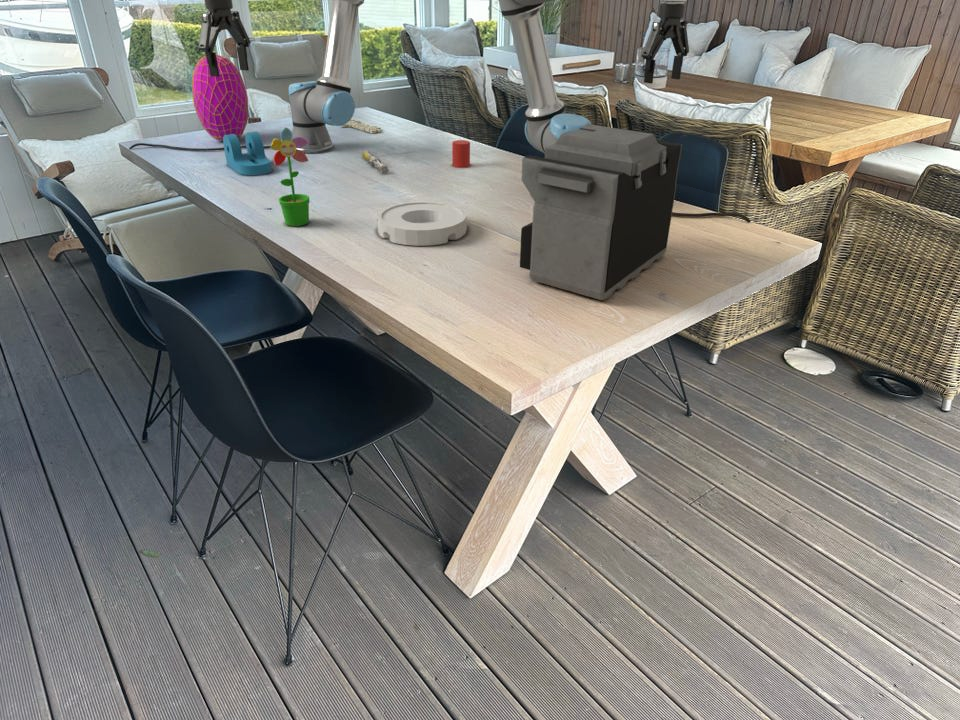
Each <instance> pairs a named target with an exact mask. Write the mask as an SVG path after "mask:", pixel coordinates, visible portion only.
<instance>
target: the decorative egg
mask: <svg viewBox="0 0 960 720" xmlns="http://www.w3.org/2000/svg"><path fill="white" fill-rule="evenodd" d="M216 58H217V64H218V70H219V77H215V76H210V71H209V65H208V64H207V59H206V55H205V56H203V57H201V58H199V60H197V62H196V65H195V67H194V69H193V72H192V78H191V91H192V93H191V94H192V102H193V106H194V110H195V112H196V115H197V118H198V119H199V122H200V125H202V128H203V129H204V130H205V132H206V133H207V134H208V135H209V137H212V139H214V140H216V141H220V142H223V137H224V135H230V134H235V135H236V136H237V138H238V139H240V138H241V137H242V135H243V134H244V132H245V129H246V127H247V124H248V120H249V98H248V97H249V96H248V91H247V88H246V84H245V82H244V79H243V76H242V74H241V72H240V71H239V69H238V68H237V67H236V65H235V64H234V62H233V61H231V60H230V59H229V58H228V57H225V56H223V55H220V54H216Z"/></svg>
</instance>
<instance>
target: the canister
mask: <svg viewBox="0 0 960 720" xmlns="http://www.w3.org/2000/svg"><path fill="white" fill-rule="evenodd" d="M451 146H452V149H451V150H452V151H451V152H452V153H451V154H452V155H451V156H452V161H451V162H452V167H454V168H457V169H458V168H459V169H461V168H462V169H464V168H470V166H471V141H470V140H465V139H457V140H453V141H452V144H451Z"/></svg>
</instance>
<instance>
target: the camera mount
mask: <svg viewBox="0 0 960 720" xmlns="http://www.w3.org/2000/svg"><path fill="white" fill-rule="evenodd" d="M222 143H223V148H224V150H223V151H224V156H225V161H226V165H227V166H228V167H230V168H231V169H232V170H234V171H236V172H237V173H238V174H239V175H244V176H260V175H265V174H268V173H271V172H272V164H271V159H270V158H268V157H267V156H266V153H265V148H264V146H265V145H264V141H263V139H262V136H261V134H260V132H258V131H247V132H246V133H245V146H246V147H247V148H246V152H243V151H242V150H243V149H242V148H241V146H242V145H241V142H240V140H239V138H237V136H236V135H235V134H230V135H224V137H223V141H222Z"/></svg>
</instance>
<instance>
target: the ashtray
mask: <svg viewBox="0 0 960 720" xmlns="http://www.w3.org/2000/svg"><path fill="white" fill-rule="evenodd" d="M467 217H468V216H467V211H465V210H464V209H463V208H462V207H460V206H457V205H455V204H451V203H448V202H442V201H432V200H431V201H430V200H414V201H407V202H400V203H395V204H392V205H388V206H386V207H383V208H382V209H381V210H379V212H378V213H377V217H376V219H377V233H378V235H379V236H380V238H382V239H389V242H391V243H394V244H399V245H403V246H415V247H420V246H421V247H422V246H423V247H425V246H438V245H444V244H447V243H448V242H449V241H451V240H452V241H457V240H459V239H461V238H462V237H464V236H465V235H466V233H467V231H468V228H467V227H468V226H467V225H468V224H467V223H468V218H467Z"/></svg>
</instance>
